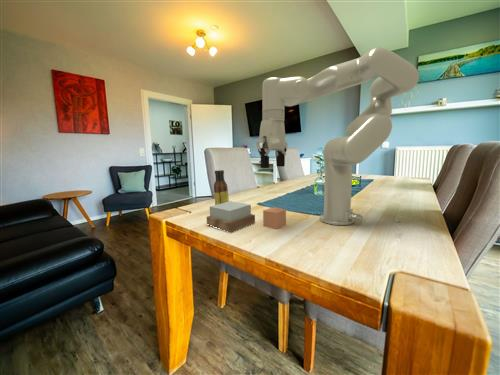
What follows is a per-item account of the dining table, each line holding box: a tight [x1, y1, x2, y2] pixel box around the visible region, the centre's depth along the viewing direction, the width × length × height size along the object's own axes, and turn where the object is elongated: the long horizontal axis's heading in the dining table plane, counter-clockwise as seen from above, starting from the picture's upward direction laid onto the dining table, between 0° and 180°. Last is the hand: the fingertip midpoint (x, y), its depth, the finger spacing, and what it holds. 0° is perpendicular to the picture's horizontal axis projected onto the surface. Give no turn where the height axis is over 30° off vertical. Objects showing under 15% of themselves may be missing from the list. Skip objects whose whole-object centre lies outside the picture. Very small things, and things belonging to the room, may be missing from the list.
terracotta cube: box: [262, 207, 287, 230], centre depth 81 cm, size 6×6×6 cm
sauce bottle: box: [213, 169, 229, 205], centre depth 97 cm, size 7×6×20 cm
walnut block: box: [206, 213, 256, 233], centre depth 83 cm, size 13×13×4 cm
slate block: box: [209, 200, 252, 222], centre depth 83 cm, size 11×11×4 cm
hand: (273, 167), depth 78 cm, fingers open, 9 cm apart
